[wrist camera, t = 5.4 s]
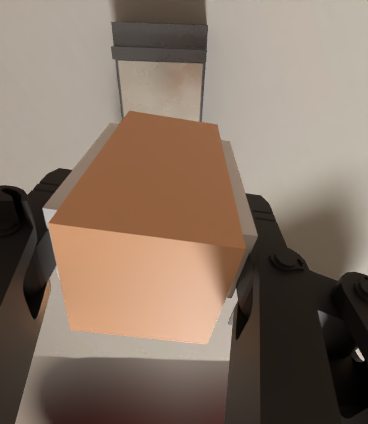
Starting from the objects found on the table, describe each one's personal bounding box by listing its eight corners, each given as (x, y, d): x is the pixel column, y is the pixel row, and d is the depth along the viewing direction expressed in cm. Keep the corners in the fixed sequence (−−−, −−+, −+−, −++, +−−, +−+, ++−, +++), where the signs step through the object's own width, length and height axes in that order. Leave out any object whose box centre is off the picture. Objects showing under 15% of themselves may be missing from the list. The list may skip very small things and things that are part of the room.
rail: (206, 25, 21) (213, 26, 12) (192, 242, 35) (190, 316, 26) (121, 22, 21) (65, 21, 12) (141, 239, 35) (122, 312, 27)
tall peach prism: (217, 124, 12) (245, 248, 5) (198, 209, 15) (202, 357, 8) (129, 110, 12) (47, 223, 5) (127, 199, 14) (73, 343, 8)
